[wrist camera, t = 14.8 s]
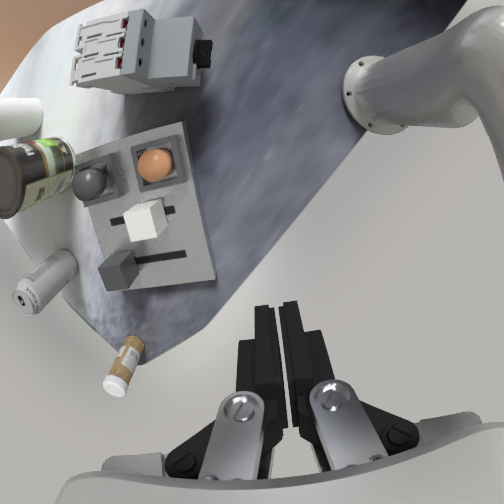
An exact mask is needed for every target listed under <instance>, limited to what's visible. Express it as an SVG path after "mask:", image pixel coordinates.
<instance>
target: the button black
mask: <svg viewBox="0 0 504 504" xmlns="http://www.w3.org/2000/svg"><path fill="white" fill-rule="evenodd" d="M106 185H107V180H106V176H105V174H104V172H103V171H102V170H100V169H99V168H90V169H87V170H84V171H81V172H79V173H78V174H76V176H75V177H74V179H73V185H72V186H73V191H74V194H75V196H76V197H77V198H78V199H79V200H81V201H89V200H91V199H93V198H95V197H97V196H99V195H101V194H102V193H103V192H104V191H105V189H106Z"/></svg>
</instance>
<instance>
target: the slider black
mask: <svg viewBox="0 0 504 504" xmlns="http://www.w3.org/2000/svg"><path fill="white" fill-rule="evenodd" d="M98 270H99V273H100V275H101V278H102V281H103V283H104V285H105V288H106V290H107V291H116V290H125V289H129V287H130V286H131V285H132V283H133V282H134V280H135V279H136V277H137V276H138V275H139V270H138V267H137V264H136V261H135V258H134V255H133V252H132V251H127V252H121V253H115V254H111V255H110V256H109V257H108V258H107V259H106V260H105V261H104V262H103V263H102V264H101V265H100V266H99V267H98Z"/></svg>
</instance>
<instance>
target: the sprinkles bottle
mask: <svg viewBox="0 0 504 504" xmlns="http://www.w3.org/2000/svg"><path fill="white" fill-rule="evenodd" d="M143 349H144V343H143V342H142V340H140V339H139V338H138V337H136V336H133V335H132V336H131V335H130V336H127V337H126V338H125V340H124V343H123V345H122V347H121V348H120V350H119V352H118V354H117V357H116V359H115V361H114V363H113V366H112V368H111V370H110V372H109V374H108V375H107V376H106V378H105V380H104V382H103V387H104V389H105V390H106V391H107V392H108V393H109V394H111V395H113V396H115V397H123V396H125V395H126V392H127V390H128V385H129V382H130V380H131V377H132V376H133V373H134V371H135V368H136V366H137V363H138V361H139V358H140V355H141V353H142V351H143Z"/></svg>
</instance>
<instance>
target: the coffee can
mask: <svg viewBox="0 0 504 504" xmlns="http://www.w3.org/2000/svg"><path fill="white" fill-rule="evenodd" d="M74 166H76V160H75V155H74V152H73V149H72V147H71V146H70V144H69V143H68V142H67V141H66V140H65V139H63V138H61V137H51V138H46V139H40V140H35V141H29V142H23V143H18V144H14V145H9V146H1V147H0V218H1V219H9V218H11V217H13V216H14V215H15V214H16V213H18V212H20V211H22V210H24V209H26V208H28V207H30V206H32V205H34V204H36V203H38V202H41V201H43V200H45V199H47V198H49V197H51V196H53V195H56V194H58V193H61V192H63V191H65V190H66V189H67V188H68V187H69V186H70V184H71V183H72V181H73V178H74V175H75V168H74Z"/></svg>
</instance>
